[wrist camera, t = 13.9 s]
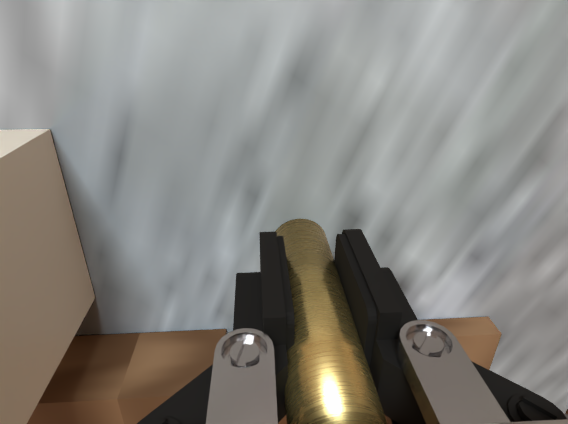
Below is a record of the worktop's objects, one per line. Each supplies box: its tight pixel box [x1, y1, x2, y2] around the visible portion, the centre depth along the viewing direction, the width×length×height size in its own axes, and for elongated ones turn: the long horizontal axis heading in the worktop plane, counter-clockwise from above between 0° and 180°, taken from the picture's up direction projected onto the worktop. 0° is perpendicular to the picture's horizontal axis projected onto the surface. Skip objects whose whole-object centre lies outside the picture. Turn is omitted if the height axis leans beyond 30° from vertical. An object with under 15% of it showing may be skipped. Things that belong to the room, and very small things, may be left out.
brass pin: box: [275, 219, 387, 424], centre depth 11 cm, size 2×2×8 cm
